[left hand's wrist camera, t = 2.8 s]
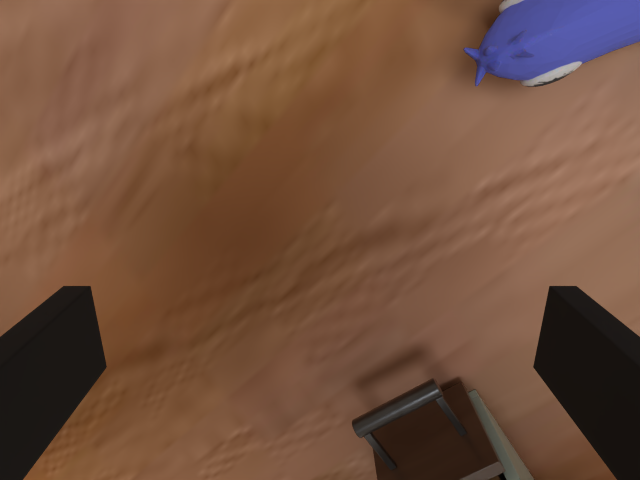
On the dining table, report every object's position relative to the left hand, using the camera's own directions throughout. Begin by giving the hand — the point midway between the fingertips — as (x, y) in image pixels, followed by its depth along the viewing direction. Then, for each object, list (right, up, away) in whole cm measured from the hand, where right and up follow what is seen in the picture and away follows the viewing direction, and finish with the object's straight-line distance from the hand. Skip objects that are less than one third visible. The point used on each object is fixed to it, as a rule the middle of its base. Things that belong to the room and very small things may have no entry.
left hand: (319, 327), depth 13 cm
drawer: (+12, -18, +31) cm, 37 cm away
